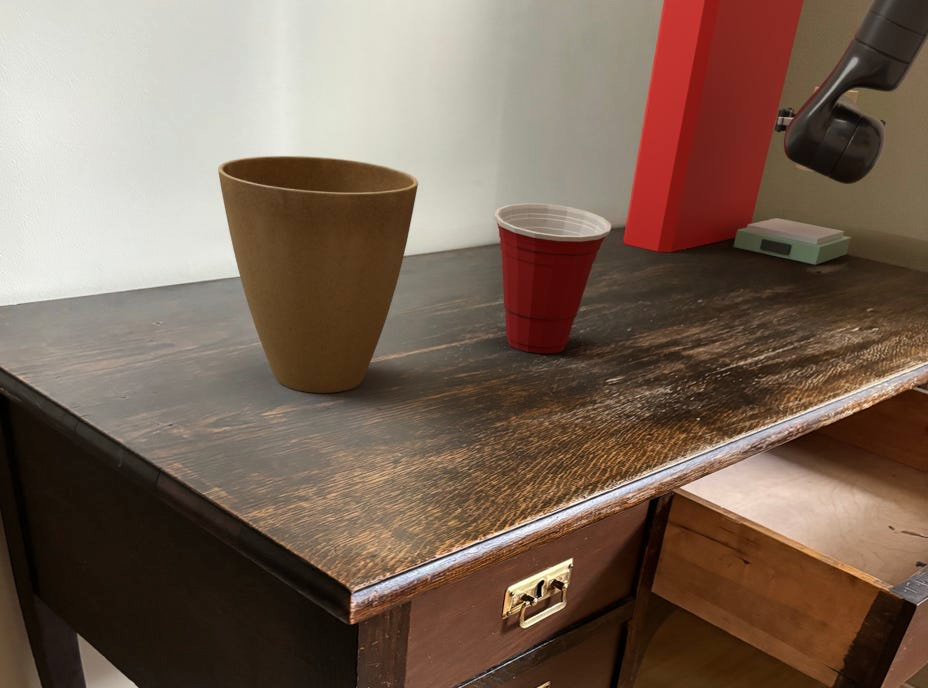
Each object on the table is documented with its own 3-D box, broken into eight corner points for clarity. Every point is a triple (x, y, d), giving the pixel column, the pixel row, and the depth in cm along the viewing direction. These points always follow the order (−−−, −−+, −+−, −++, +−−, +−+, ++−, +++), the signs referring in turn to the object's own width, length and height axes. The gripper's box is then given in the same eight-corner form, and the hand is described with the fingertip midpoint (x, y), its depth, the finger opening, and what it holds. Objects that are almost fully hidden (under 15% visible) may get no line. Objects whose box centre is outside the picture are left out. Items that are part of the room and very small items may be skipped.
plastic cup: (484, 358, 90) (498, 220, 83) (478, 326, 99) (490, 199, 92) (599, 367, 90) (622, 231, 84) (583, 334, 99) (602, 208, 93)
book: (704, 225, 160) (752, -6, 143) (748, 234, 156) (804, -2, 139) (618, 242, 142) (661, -20, 124) (665, 253, 138) (717, -17, 120)
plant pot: (212, 355, 84) (201, 152, 75) (374, 349, 90) (381, 158, 81) (248, 416, 73) (241, 186, 64) (431, 405, 78) (447, 191, 69)
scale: (846, 254, 149) (853, 231, 147) (814, 265, 140) (821, 241, 138) (767, 238, 155) (772, 216, 153) (731, 247, 146) (737, 224, 144)
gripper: (900, 102, 118) (890, 96, 132) (780, 89, 121) (782, 85, 135) (880, 169, 122) (872, 157, 136) (764, 155, 125) (768, 144, 139)
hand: (827, 121), depth 135 cm, fingers closed on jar, 5 cm apart
